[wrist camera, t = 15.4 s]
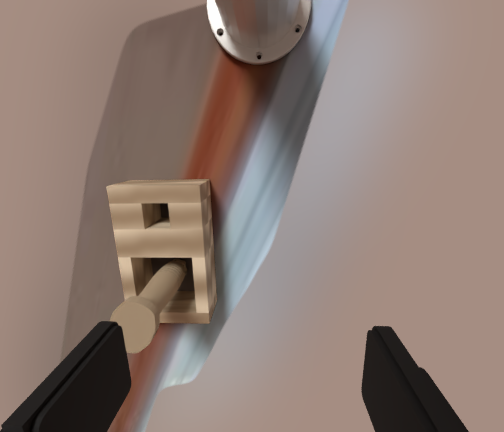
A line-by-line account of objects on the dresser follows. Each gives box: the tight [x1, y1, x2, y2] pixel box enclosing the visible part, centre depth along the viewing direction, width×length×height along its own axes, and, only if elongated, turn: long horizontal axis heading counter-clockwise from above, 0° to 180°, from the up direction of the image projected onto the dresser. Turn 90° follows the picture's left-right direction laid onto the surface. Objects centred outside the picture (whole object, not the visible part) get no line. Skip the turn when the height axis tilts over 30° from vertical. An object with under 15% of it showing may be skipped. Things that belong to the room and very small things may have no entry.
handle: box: [110, 258, 187, 353], centre depth 35 cm, size 5×6×15 cm
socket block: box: [106, 179, 217, 324], centre depth 39 cm, size 20×12×6 cm, turn 1°
